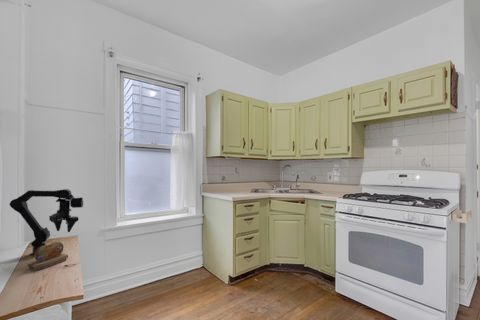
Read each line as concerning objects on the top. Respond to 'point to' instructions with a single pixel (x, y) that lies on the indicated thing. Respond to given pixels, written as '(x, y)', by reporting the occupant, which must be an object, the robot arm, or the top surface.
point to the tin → (48, 251)
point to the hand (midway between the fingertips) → (63, 231)
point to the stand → (46, 262)
